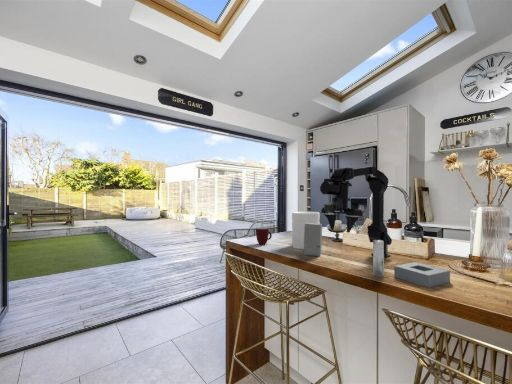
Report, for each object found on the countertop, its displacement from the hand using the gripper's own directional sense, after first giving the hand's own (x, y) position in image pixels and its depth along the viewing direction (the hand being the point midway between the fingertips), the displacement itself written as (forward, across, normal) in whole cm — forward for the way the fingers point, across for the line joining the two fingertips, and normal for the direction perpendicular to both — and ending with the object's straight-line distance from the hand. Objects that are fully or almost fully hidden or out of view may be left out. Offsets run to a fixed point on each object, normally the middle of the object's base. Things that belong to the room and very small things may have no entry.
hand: (339, 231), depth 109 cm
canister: (+14, -35, +11) cm, 39 cm away
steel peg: (+14, +19, +1) cm, 23 cm away
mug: (+15, -53, -6) cm, 56 cm away
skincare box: (+14, -19, +2) cm, 24 cm away
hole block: (+14, +29, +10) cm, 33 cm away
